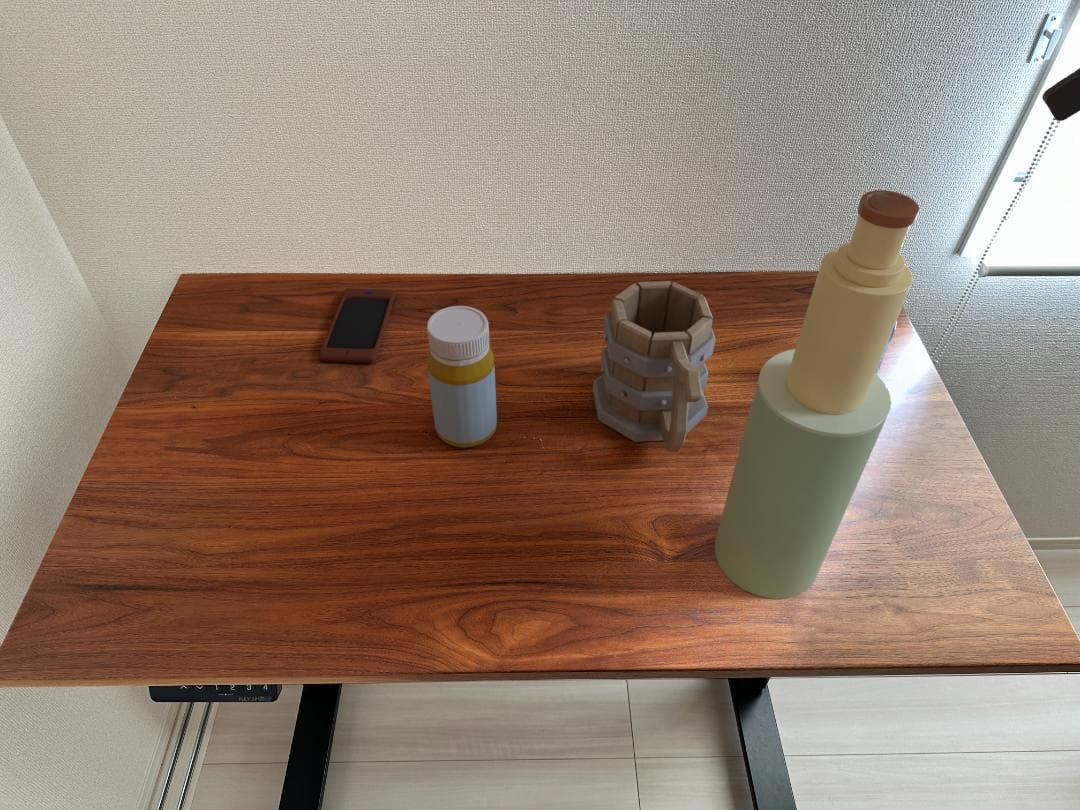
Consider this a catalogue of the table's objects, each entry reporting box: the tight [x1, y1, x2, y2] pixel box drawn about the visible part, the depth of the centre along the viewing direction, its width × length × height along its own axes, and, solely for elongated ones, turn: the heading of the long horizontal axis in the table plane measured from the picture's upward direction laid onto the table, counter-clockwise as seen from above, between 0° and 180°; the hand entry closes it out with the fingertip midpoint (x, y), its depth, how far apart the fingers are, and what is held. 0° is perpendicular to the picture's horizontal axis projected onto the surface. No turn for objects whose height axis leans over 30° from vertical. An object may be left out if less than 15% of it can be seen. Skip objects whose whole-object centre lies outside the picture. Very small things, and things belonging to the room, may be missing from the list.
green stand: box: [714, 348, 892, 600], centre depth 68 cm, size 10×10×22 cm
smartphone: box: [318, 288, 397, 364], centre depth 101 cm, size 7×1×15 cm
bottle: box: [426, 305, 498, 449], centre depth 83 cm, size 7×7×15 cm
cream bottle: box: [786, 189, 920, 414], centre depth 55 cm, size 6×6×16 cm
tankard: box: [592, 280, 716, 453], centre depth 83 cm, size 20×13×15 cm, turn 4°
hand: (1075, 138), depth 46 cm, fingers open, 8 cm apart
